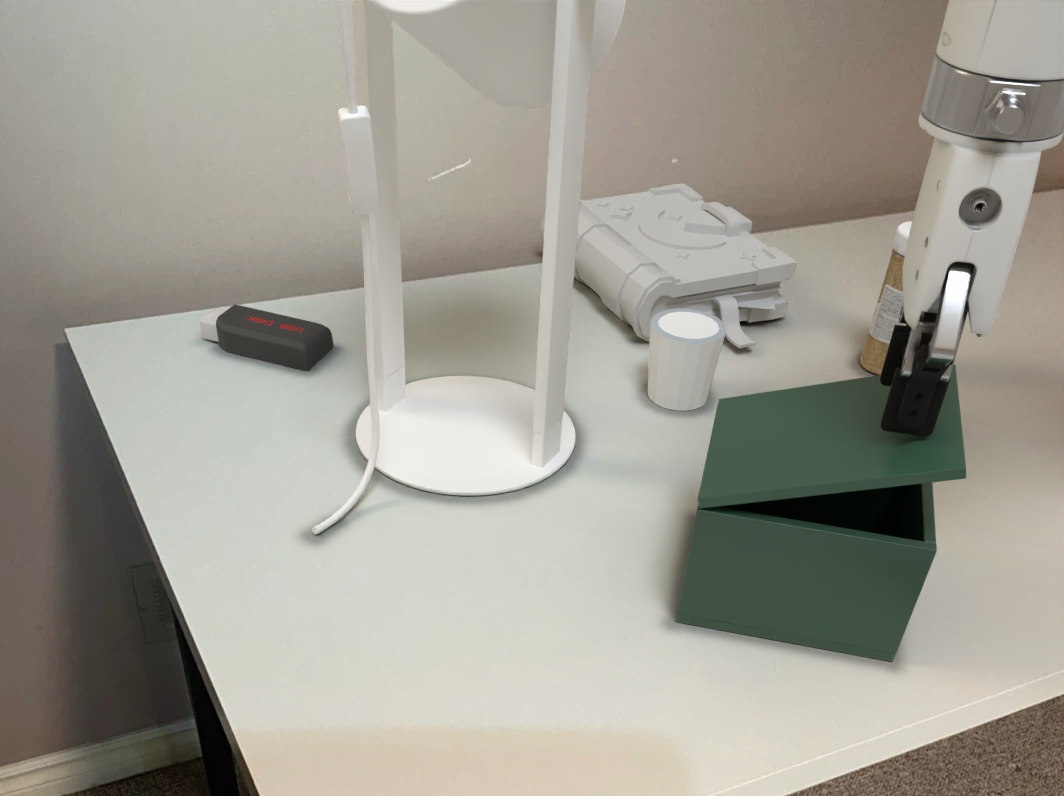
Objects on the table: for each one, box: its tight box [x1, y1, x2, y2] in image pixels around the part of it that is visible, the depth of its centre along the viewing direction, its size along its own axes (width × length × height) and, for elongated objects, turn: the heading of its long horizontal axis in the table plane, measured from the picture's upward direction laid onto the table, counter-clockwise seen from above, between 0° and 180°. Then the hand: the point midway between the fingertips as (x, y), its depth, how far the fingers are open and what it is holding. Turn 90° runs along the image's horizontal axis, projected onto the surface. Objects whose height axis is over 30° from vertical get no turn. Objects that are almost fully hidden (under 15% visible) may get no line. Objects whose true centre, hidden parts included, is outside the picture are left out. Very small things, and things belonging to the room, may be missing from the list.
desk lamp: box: [311, 0, 627, 535], centre depth 77 cm, size 21×32×45 cm, turn 150°
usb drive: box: [199, 304, 334, 372], centre depth 103 cm, size 5×12×3 cm, turn 69°
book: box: [539, 183, 798, 349], centre depth 113 cm, size 19×28×8 cm
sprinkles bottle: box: [859, 220, 912, 375], centre depth 102 cm, size 5×5×13 cm
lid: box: [696, 340, 967, 508], centre depth 71 cm, size 16×14×5 cm
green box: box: [675, 482, 938, 663], centre depth 78 cm, size 16×14×10 cm
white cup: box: [647, 309, 727, 412], centre depth 99 cm, size 7×7×7 cm
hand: (904, 405), depth 70 cm, fingers closed on lid, 5 cm apart
